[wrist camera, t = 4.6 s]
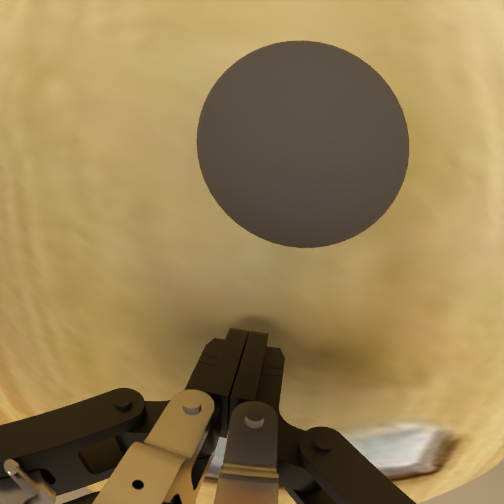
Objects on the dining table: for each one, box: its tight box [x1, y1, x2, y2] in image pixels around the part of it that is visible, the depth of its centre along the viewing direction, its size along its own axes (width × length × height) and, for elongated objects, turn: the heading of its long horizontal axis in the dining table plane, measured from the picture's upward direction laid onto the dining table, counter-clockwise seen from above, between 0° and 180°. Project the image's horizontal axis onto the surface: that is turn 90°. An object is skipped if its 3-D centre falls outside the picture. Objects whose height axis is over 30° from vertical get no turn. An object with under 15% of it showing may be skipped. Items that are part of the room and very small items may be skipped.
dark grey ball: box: [197, 41, 409, 248], centre depth 8 cm, size 6×6×6 cm
